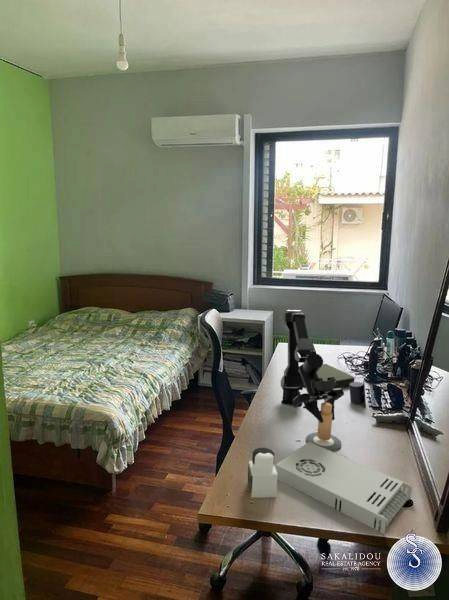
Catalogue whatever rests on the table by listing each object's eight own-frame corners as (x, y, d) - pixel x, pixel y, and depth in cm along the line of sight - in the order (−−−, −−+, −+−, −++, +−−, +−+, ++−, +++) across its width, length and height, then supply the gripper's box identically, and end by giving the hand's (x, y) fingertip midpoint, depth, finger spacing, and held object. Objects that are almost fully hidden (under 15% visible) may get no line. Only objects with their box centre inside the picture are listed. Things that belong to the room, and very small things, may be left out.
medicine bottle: (247, 482, 123) (249, 444, 121) (271, 482, 124) (273, 444, 122) (250, 498, 116) (252, 458, 114) (276, 497, 117) (279, 458, 115)
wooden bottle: (316, 438, 146) (318, 405, 144) (318, 432, 150) (321, 400, 148) (329, 441, 144) (332, 408, 142) (331, 435, 148) (334, 403, 146)
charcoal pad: (302, 446, 144) (302, 444, 144) (309, 431, 155) (310, 429, 155) (338, 455, 140) (338, 453, 140) (343, 438, 151) (343, 436, 150)
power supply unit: (383, 536, 105) (385, 518, 104) (274, 479, 126) (275, 464, 125) (410, 501, 118) (412, 485, 118) (307, 455, 140) (309, 441, 139)
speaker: (370, 403, 181) (370, 380, 179) (365, 408, 177) (364, 384, 175) (353, 399, 186) (352, 377, 184) (348, 404, 181) (347, 381, 180)
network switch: (358, 385, 202) (359, 375, 201) (324, 395, 189) (325, 384, 188) (321, 370, 221) (322, 361, 220) (288, 378, 208) (288, 369, 207)
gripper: (299, 372, 142) (316, 417, 135) (343, 366, 150) (362, 408, 142) (285, 386, 151) (300, 428, 143) (327, 379, 159) (344, 419, 151)
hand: (327, 421), depth 145 cm, fingers closed on wooden bottle, 4 cm apart
